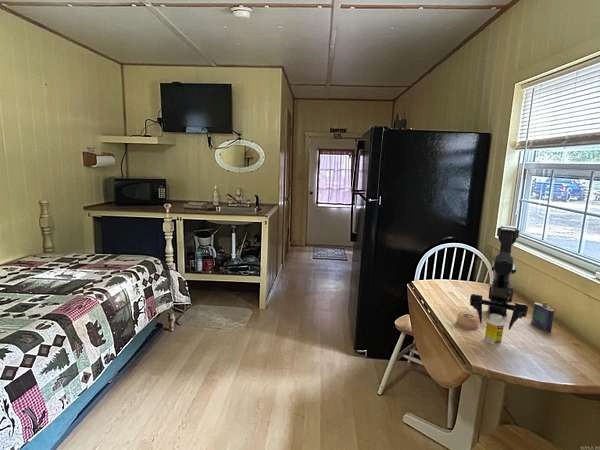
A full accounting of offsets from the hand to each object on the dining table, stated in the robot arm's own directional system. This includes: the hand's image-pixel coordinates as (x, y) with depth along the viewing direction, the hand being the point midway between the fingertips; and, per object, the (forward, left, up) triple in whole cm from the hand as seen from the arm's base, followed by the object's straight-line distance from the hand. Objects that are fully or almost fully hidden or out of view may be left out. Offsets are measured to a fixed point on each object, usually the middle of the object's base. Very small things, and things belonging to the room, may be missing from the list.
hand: (494, 326), depth 130 cm
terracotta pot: (+7, -13, -7) cm, 16 cm away
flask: (-22, -22, -7) cm, 32 cm away
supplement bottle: (0, -1, -7) cm, 7 cm away
